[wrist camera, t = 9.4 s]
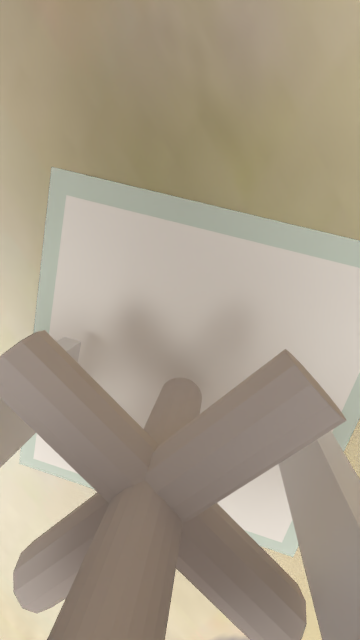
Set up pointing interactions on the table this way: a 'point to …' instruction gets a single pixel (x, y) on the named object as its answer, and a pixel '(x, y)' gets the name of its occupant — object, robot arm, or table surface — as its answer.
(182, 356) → the stand
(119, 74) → the table surface
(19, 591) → the pipe connector
